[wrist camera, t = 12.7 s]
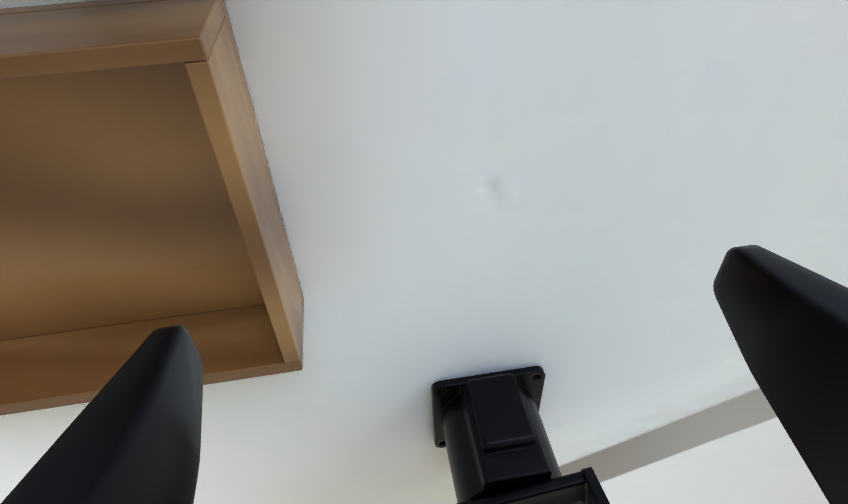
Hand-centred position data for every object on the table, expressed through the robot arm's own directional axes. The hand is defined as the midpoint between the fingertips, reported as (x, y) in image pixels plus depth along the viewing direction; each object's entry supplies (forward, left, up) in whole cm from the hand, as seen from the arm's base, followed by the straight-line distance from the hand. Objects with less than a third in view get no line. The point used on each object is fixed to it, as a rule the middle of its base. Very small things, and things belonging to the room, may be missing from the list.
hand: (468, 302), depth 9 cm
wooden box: (-5, +13, -12) cm, 18 cm away
